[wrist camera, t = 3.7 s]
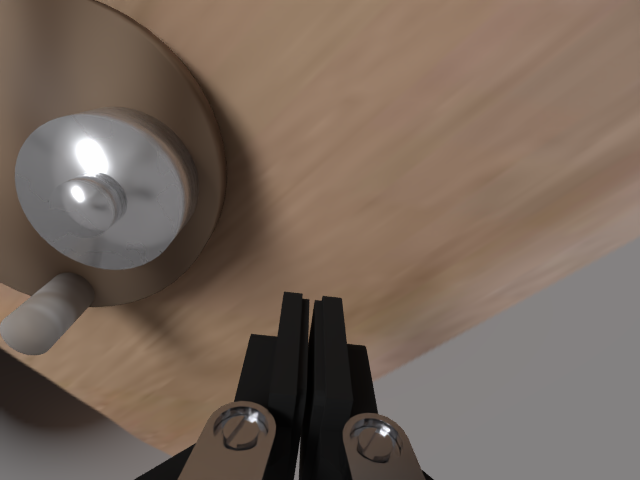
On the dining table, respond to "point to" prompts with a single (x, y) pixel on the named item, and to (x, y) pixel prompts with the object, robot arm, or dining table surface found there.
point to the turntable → (75, 97)
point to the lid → (107, 186)
